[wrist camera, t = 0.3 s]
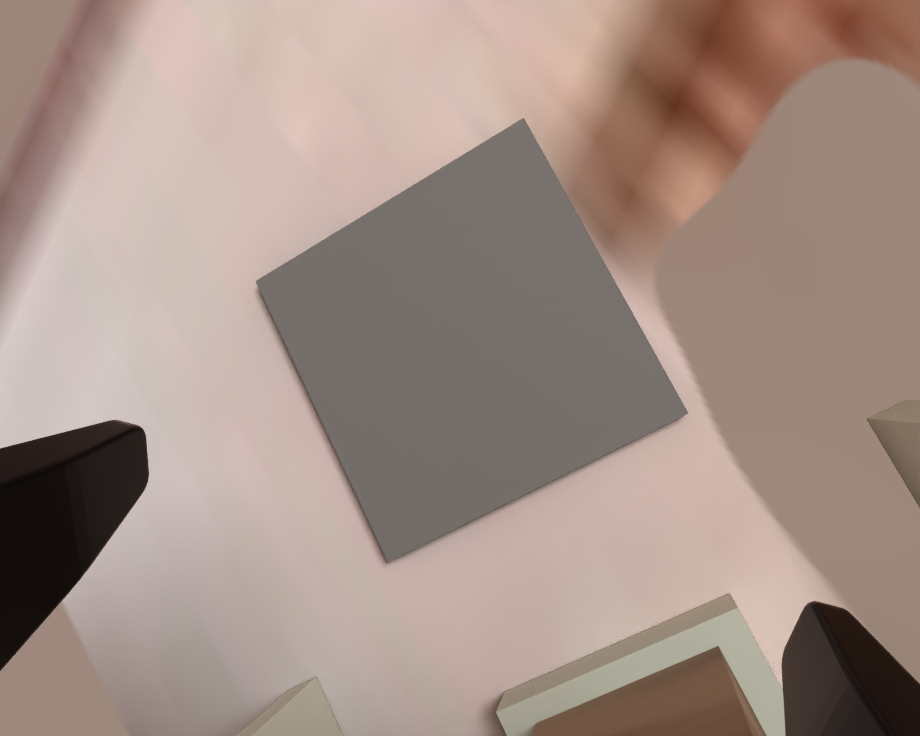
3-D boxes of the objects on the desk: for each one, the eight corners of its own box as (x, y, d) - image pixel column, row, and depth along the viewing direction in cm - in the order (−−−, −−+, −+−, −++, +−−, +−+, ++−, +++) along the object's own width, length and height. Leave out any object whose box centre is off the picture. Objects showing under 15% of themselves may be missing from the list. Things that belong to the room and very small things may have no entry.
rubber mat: (686, 413, 22) (688, 413, 21) (393, 558, 24) (387, 562, 23) (526, 125, 24) (523, 117, 23) (263, 283, 26) (255, 281, 25)
